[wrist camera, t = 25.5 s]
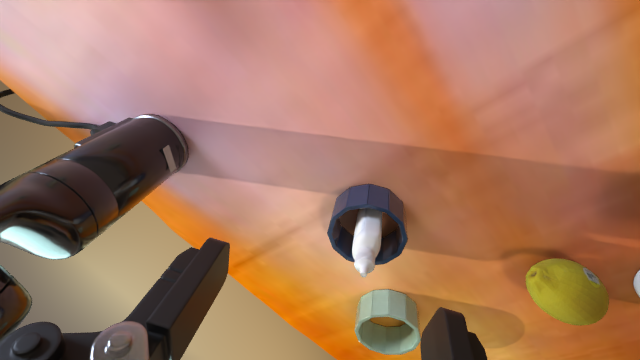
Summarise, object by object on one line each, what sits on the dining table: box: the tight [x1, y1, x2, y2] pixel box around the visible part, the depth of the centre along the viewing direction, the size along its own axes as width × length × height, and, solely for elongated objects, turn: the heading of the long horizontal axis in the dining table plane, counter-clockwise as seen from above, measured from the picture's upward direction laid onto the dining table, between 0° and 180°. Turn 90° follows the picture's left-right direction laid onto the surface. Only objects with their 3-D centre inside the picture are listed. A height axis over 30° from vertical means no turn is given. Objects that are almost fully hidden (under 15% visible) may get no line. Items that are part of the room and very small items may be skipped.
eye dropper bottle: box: [352, 208, 382, 277], centre depth 41 cm, size 4×6×12 cm
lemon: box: [526, 258, 609, 325], centre depth 42 cm, size 11×8×8 cm
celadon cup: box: [355, 289, 421, 355], centre depth 54 cm, size 10×10×5 cm
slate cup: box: [327, 184, 408, 265], centre depth 44 cm, size 10×10×5 cm
